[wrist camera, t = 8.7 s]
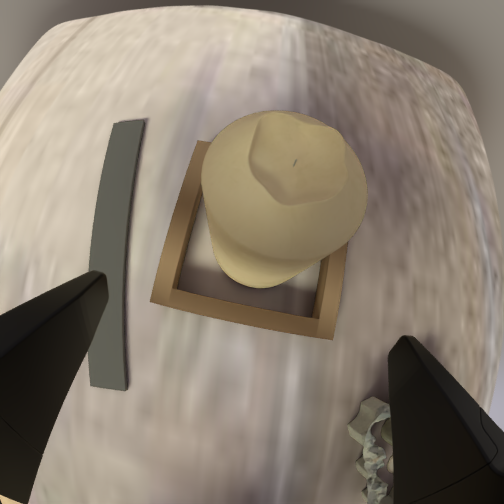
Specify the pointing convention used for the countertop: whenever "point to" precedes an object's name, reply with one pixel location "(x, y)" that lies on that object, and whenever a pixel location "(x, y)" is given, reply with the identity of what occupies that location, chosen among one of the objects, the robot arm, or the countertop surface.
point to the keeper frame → (229, 311)
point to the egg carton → (373, 449)
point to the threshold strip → (113, 252)
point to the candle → (280, 195)
